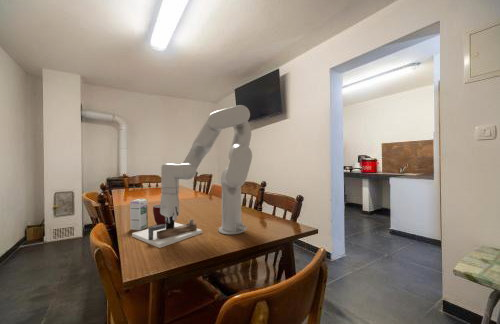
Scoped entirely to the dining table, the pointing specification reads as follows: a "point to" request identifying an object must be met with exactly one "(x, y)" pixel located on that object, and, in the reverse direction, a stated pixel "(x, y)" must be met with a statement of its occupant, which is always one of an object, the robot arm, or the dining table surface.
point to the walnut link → (177, 230)
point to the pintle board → (167, 240)
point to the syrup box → (138, 214)
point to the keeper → (153, 228)
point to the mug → (158, 215)
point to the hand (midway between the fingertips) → (170, 230)
